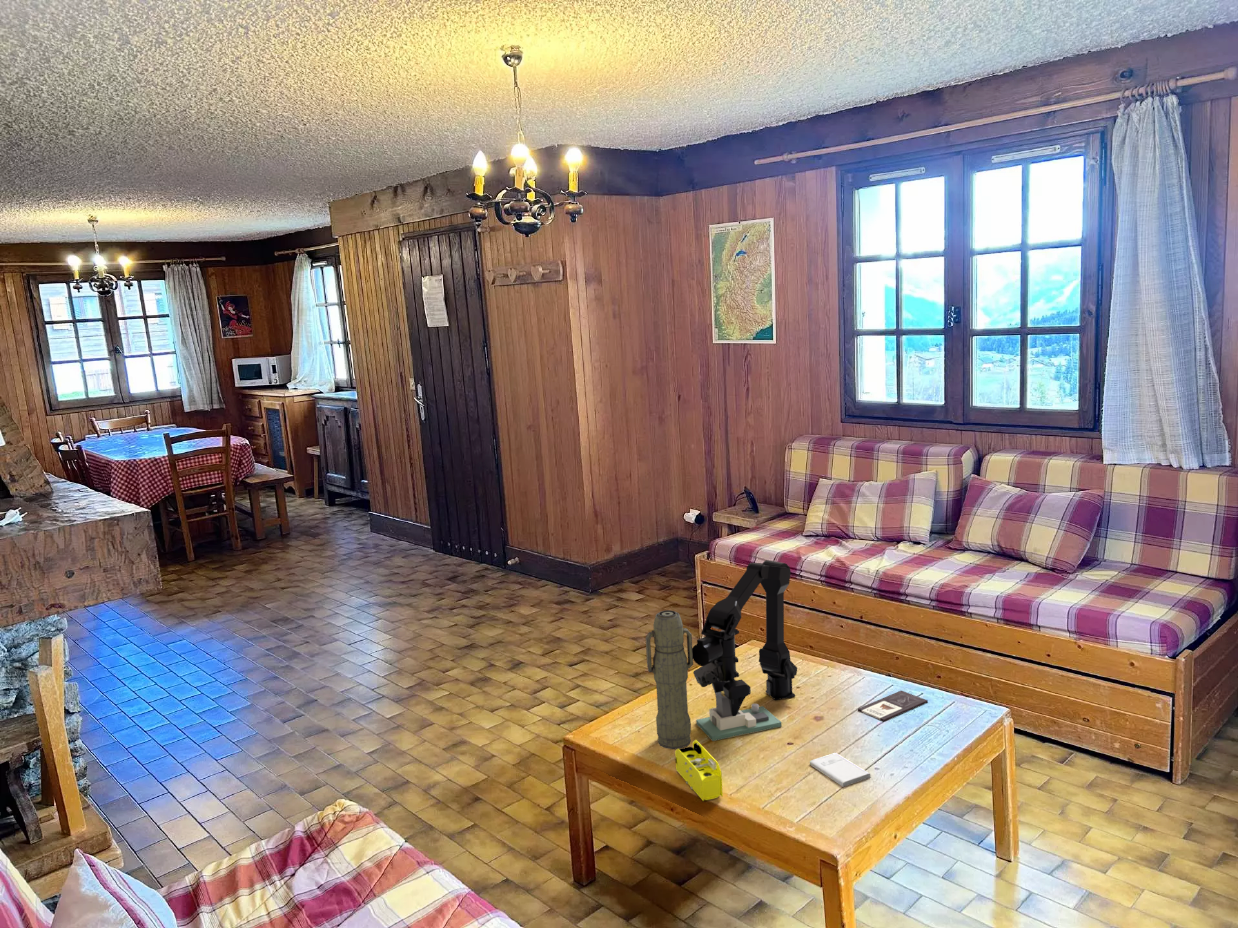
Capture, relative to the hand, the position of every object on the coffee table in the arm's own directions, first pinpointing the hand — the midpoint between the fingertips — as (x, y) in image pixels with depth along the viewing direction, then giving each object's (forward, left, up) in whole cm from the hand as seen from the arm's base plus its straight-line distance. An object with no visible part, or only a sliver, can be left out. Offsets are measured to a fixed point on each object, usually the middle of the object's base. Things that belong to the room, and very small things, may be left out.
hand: (726, 708), depth 244 cm
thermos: (+16, +2, -5) cm, 17 cm away
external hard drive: (-14, +33, -6) cm, 36 cm away
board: (-3, +1, -5) cm, 6 cm away
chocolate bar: (-46, +8, -6) cm, 47 cm away
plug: (0, 0, -4) cm, 4 cm away
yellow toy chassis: (+19, +25, -5) cm, 32 cm away
